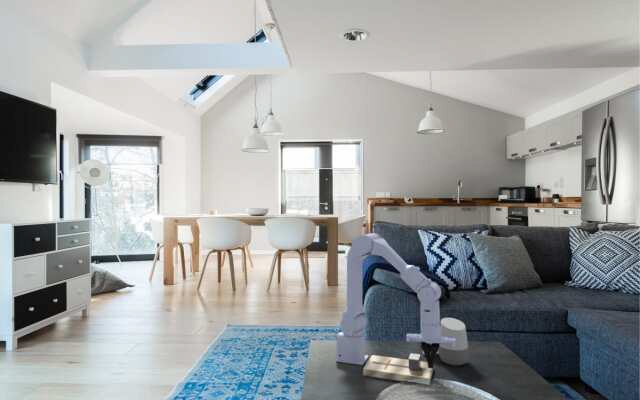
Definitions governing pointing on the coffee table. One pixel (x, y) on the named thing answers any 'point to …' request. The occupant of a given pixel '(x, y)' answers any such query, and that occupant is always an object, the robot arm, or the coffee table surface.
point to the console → (395, 369)
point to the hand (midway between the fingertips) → (430, 367)
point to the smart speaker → (460, 351)
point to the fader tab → (414, 361)
